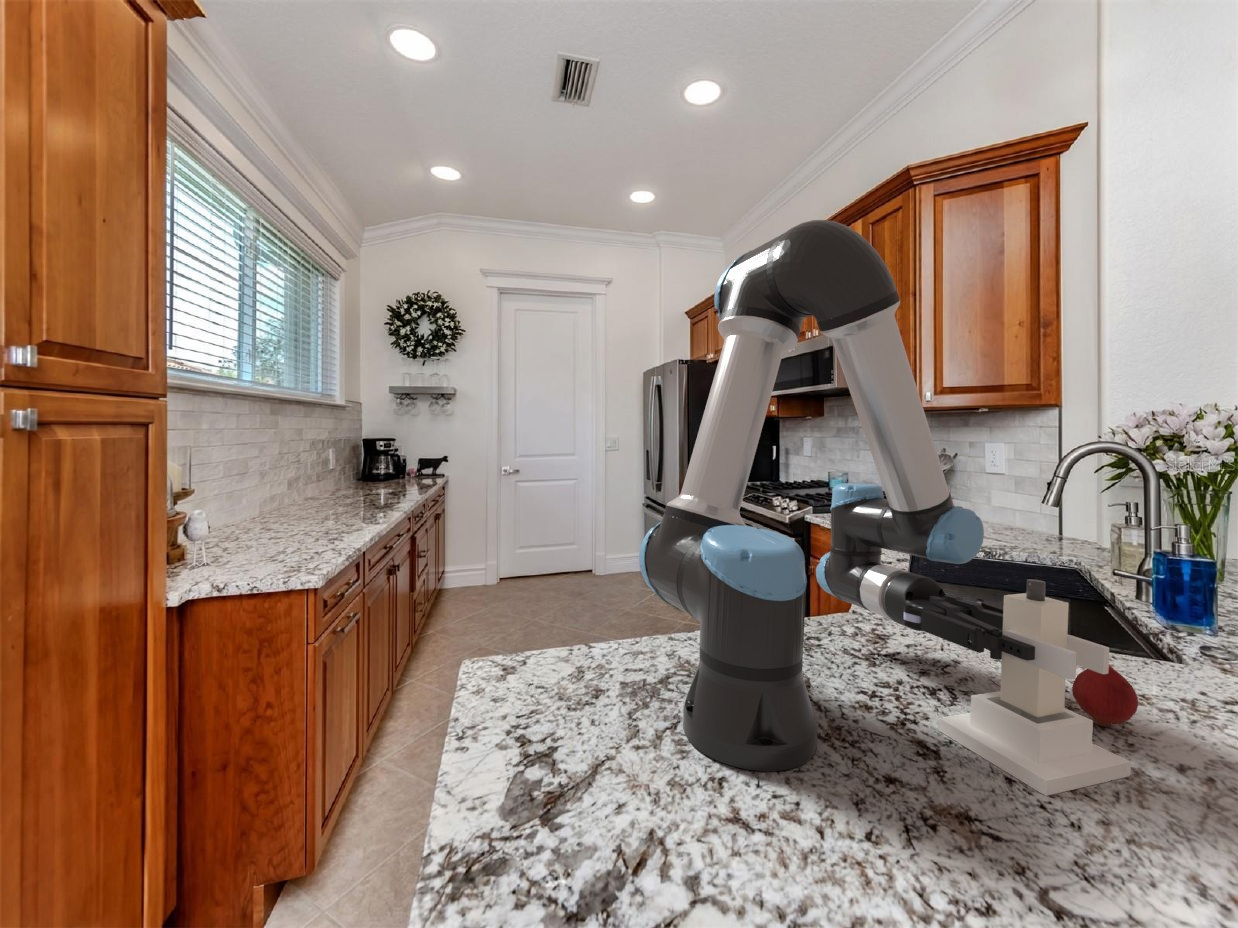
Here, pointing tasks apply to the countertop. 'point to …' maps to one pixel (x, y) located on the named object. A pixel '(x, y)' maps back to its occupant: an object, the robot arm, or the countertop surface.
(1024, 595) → the plug
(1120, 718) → the onion
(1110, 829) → the countertop surface
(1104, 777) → the socket
